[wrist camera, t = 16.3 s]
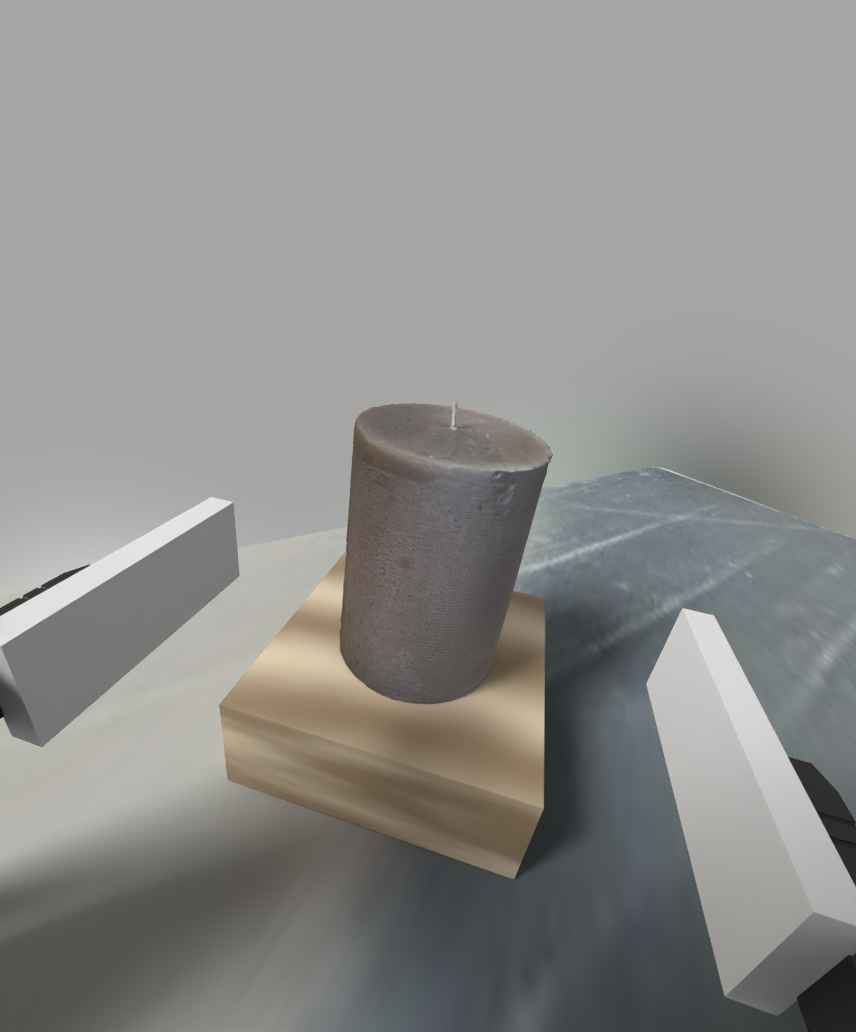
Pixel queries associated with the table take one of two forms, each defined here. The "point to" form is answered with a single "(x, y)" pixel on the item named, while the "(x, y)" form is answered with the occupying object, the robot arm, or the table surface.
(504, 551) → the pillar candle
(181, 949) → the table surface
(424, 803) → the oak block
